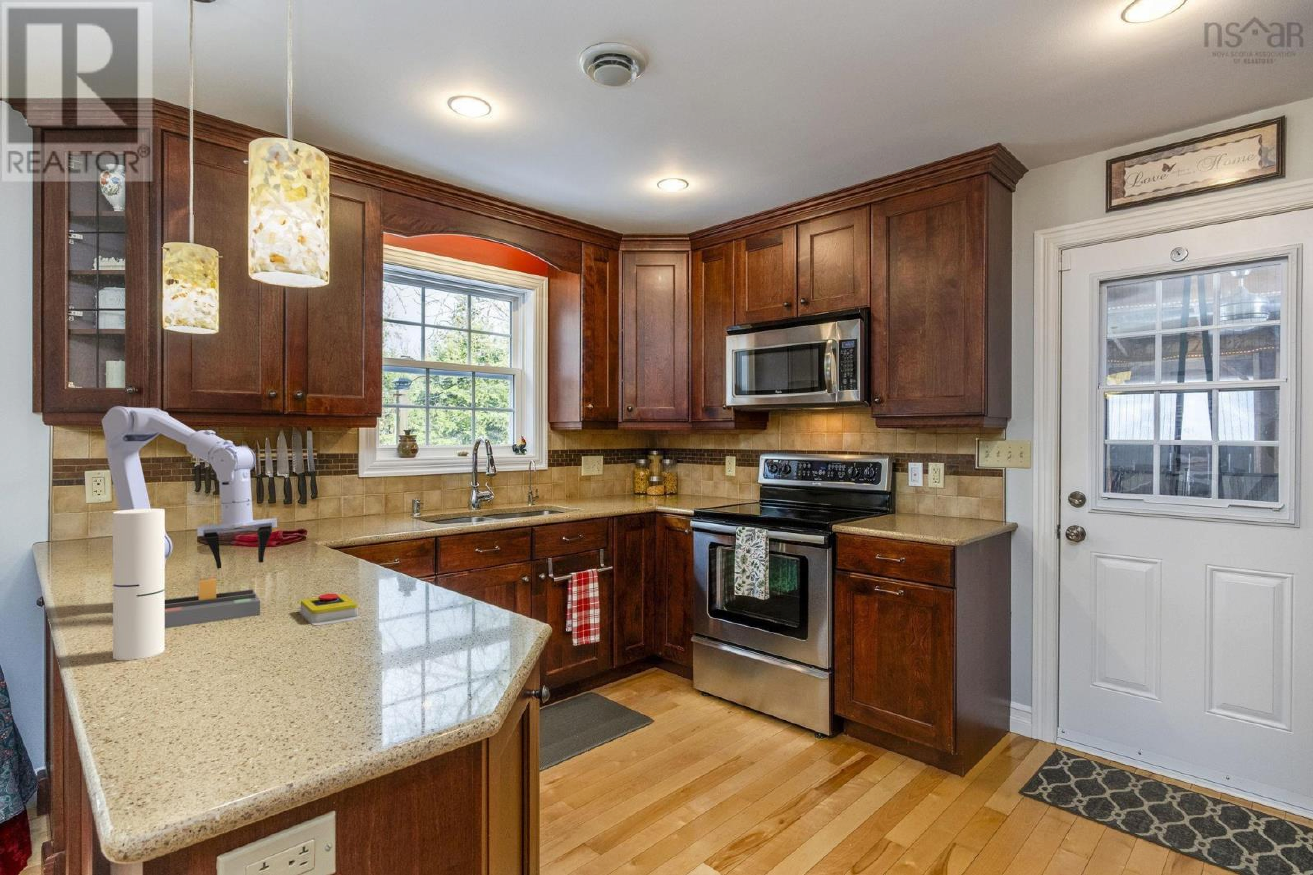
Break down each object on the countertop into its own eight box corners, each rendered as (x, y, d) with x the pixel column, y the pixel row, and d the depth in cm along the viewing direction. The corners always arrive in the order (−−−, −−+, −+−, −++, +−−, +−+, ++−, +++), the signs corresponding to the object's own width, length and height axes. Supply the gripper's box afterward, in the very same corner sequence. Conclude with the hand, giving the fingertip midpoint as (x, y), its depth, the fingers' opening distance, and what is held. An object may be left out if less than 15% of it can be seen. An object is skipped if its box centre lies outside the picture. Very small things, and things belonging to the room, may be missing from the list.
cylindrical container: (121, 649, 119) (121, 509, 119) (169, 645, 122) (169, 508, 121) (106, 662, 112) (106, 514, 112) (158, 657, 115) (158, 512, 115)
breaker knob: (198, 599, 141) (198, 578, 141) (215, 597, 143) (215, 577, 143) (199, 602, 139) (199, 581, 139) (216, 600, 141) (216, 579, 141)
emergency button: (343, 587, 151) (363, 600, 140) (342, 606, 151) (362, 621, 140) (297, 593, 145) (314, 607, 134) (297, 613, 145) (314, 629, 134)
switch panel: (154, 615, 141) (154, 597, 141) (253, 602, 151) (253, 586, 151) (153, 629, 131) (153, 610, 131) (260, 614, 142) (260, 597, 142)
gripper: (196, 506, 137) (200, 572, 137) (277, 499, 145) (281, 561, 145) (195, 505, 142) (199, 568, 142) (272, 498, 151) (276, 558, 151)
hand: (240, 565), depth 144 cm, fingers open, 7 cm apart
